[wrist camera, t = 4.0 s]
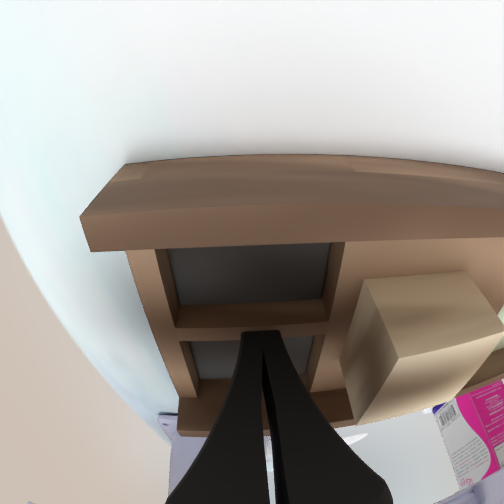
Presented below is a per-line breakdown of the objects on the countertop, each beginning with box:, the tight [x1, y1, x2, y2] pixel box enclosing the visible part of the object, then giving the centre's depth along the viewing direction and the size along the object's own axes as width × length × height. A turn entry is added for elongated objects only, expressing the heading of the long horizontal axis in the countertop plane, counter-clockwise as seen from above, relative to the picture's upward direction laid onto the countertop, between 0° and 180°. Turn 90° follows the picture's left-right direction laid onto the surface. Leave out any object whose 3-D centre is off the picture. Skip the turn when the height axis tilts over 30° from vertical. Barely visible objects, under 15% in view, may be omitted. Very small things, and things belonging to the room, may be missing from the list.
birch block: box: [339, 271, 504, 426], centre depth 11 cm, size 5×5×4 cm
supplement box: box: [432, 380, 504, 490], centre depth 18 cm, size 6×6×12 cm
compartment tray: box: [80, 154, 504, 437], centre depth 12 cm, size 13×26×4 cm, turn 91°
